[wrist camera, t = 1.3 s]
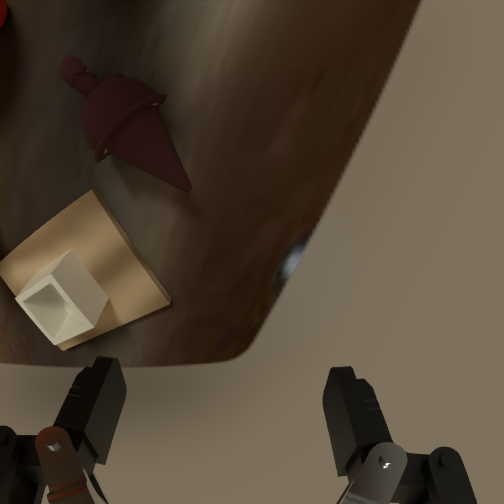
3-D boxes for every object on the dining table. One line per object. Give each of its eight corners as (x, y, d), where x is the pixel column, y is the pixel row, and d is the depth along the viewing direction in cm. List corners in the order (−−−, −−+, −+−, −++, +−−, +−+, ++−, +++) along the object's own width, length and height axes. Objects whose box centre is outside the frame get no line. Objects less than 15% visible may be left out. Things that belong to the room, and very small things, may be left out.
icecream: (231, 155, 21) (97, 18, 16) (150, 231, 21) (23, 89, 16) (220, 160, 28) (114, 49, 23) (159, 218, 28) (56, 105, 23)
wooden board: (-2, 263, 30) (-6, 267, 29) (95, 186, 27) (91, 189, 26) (65, 345, 36) (62, 350, 35) (171, 298, 33) (170, 304, 32)
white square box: (35, 273, 30) (14, 298, 25) (72, 248, 29) (50, 273, 24) (70, 317, 33) (54, 345, 28) (108, 297, 32) (94, 327, 27)
